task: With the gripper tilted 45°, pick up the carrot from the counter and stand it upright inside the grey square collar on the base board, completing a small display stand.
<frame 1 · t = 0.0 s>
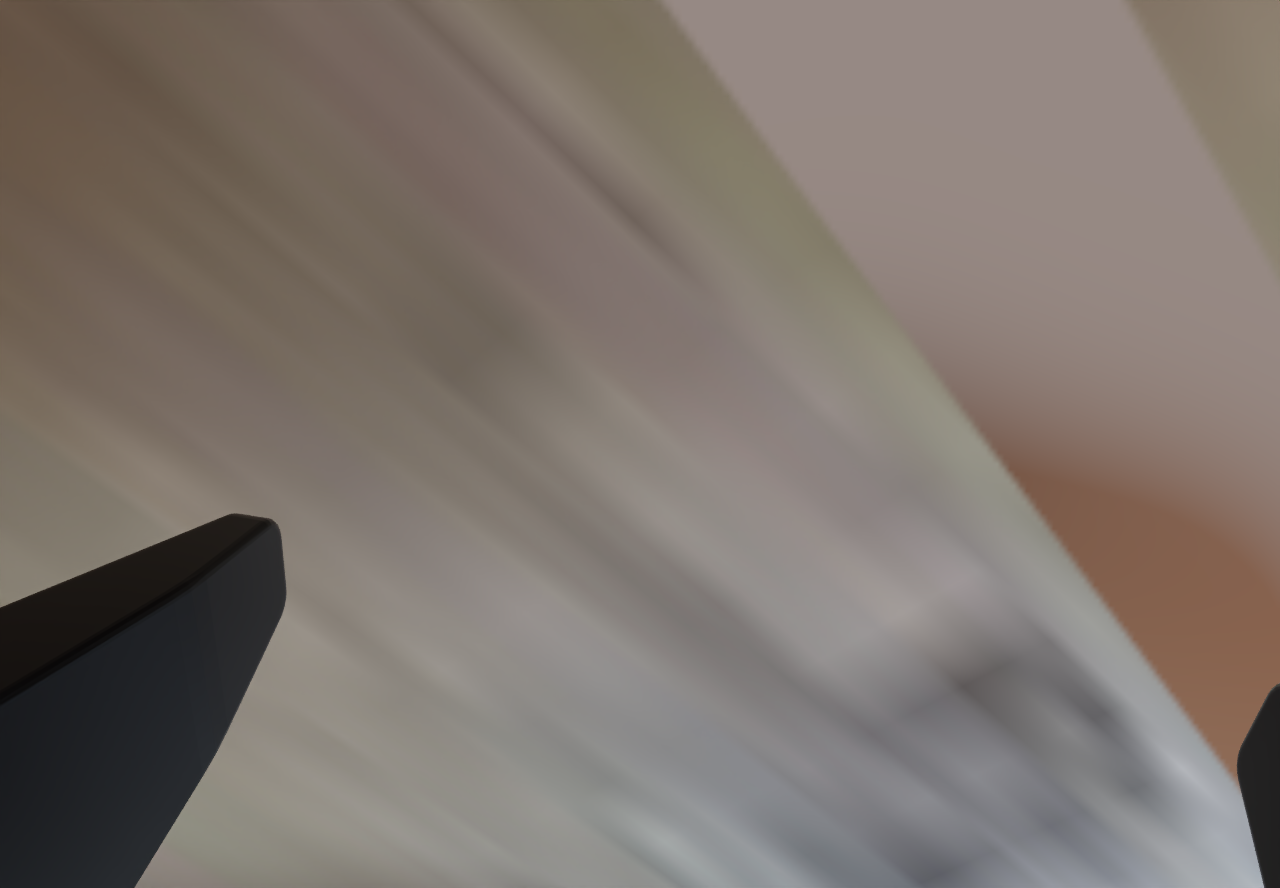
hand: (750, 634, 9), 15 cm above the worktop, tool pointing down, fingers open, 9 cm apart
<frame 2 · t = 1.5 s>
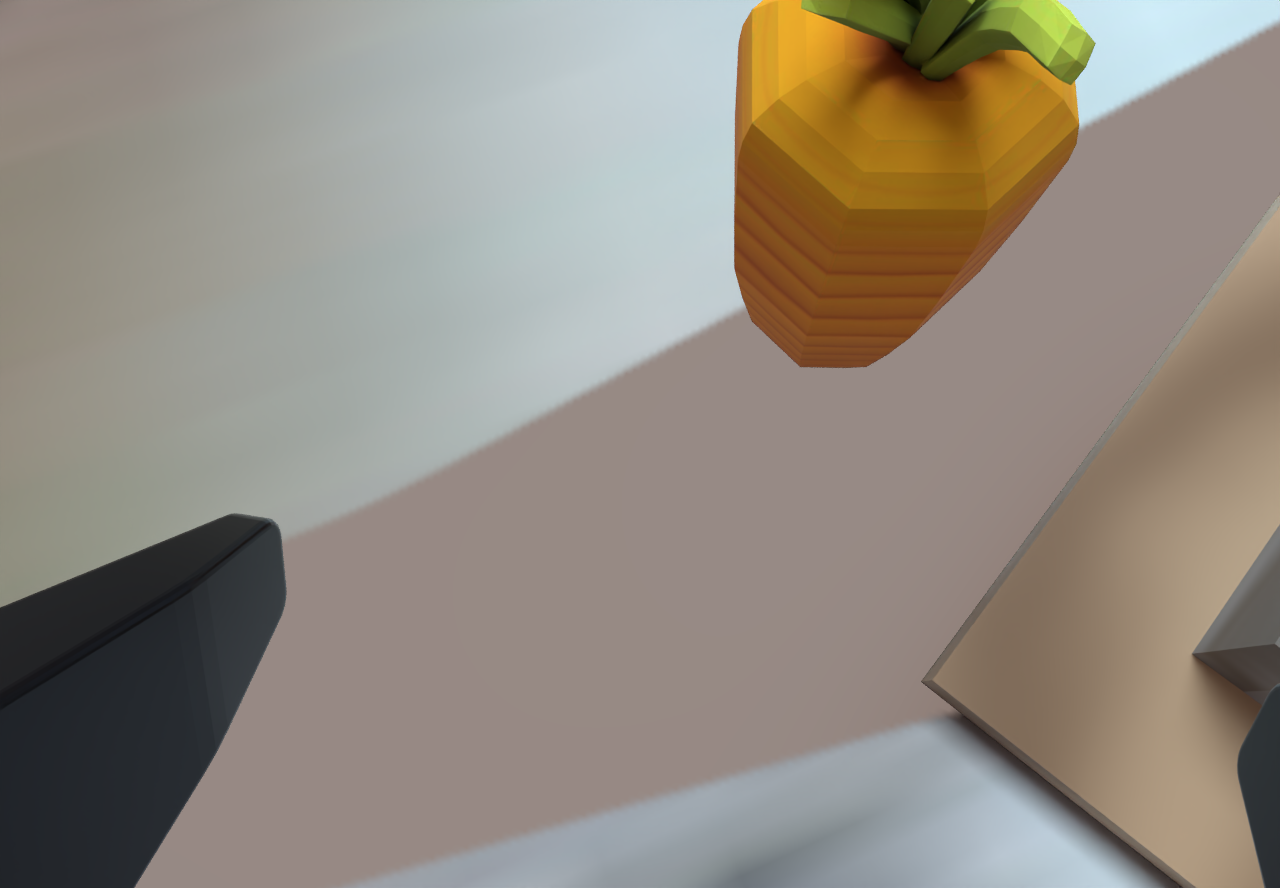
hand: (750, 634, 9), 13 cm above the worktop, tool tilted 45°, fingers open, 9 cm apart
carrot: (810, 348, 24), on the worktop
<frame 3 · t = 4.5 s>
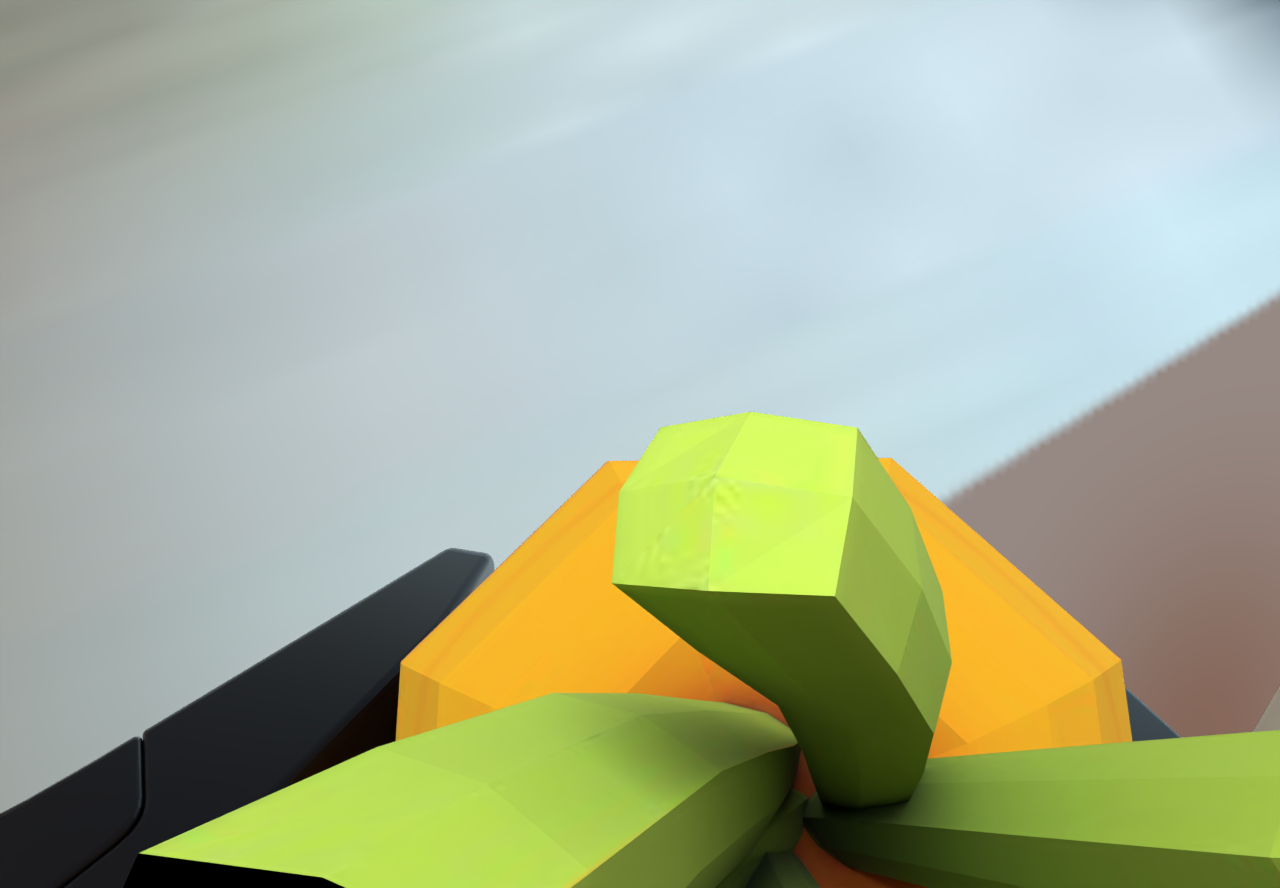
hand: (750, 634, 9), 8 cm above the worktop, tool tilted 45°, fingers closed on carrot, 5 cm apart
carrot: (705, 771, 16), on the worktop, touching gripper
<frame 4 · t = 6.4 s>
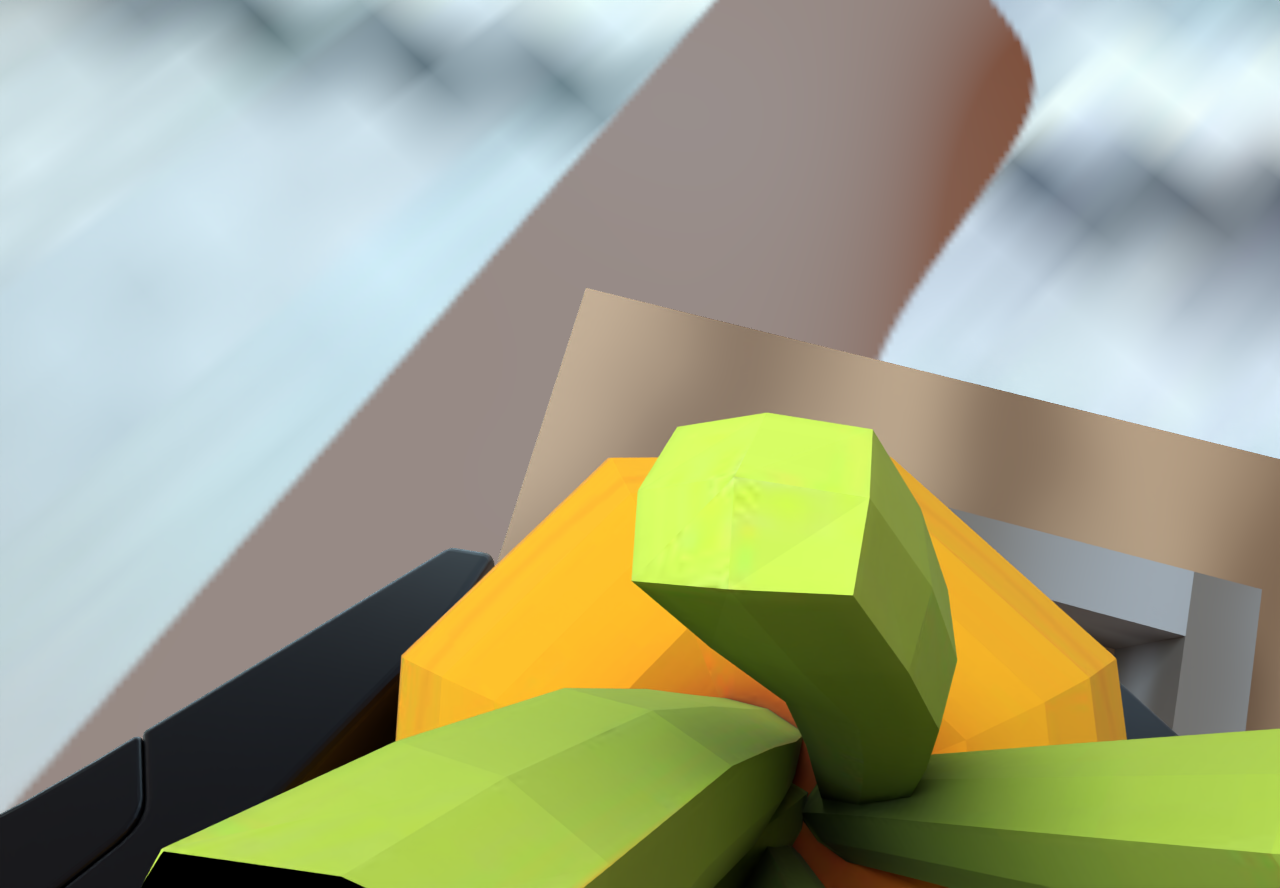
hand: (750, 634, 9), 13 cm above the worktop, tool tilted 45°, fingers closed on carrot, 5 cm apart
carrot: (696, 766, 16), point 5 cm above the worktop, touching gripper
socket base: (874, 786, 21), on the worktop
when the fingers open (10 cm above the worktop, at t = 8.2 s): carrot drops 1 cm, resting on socket base.
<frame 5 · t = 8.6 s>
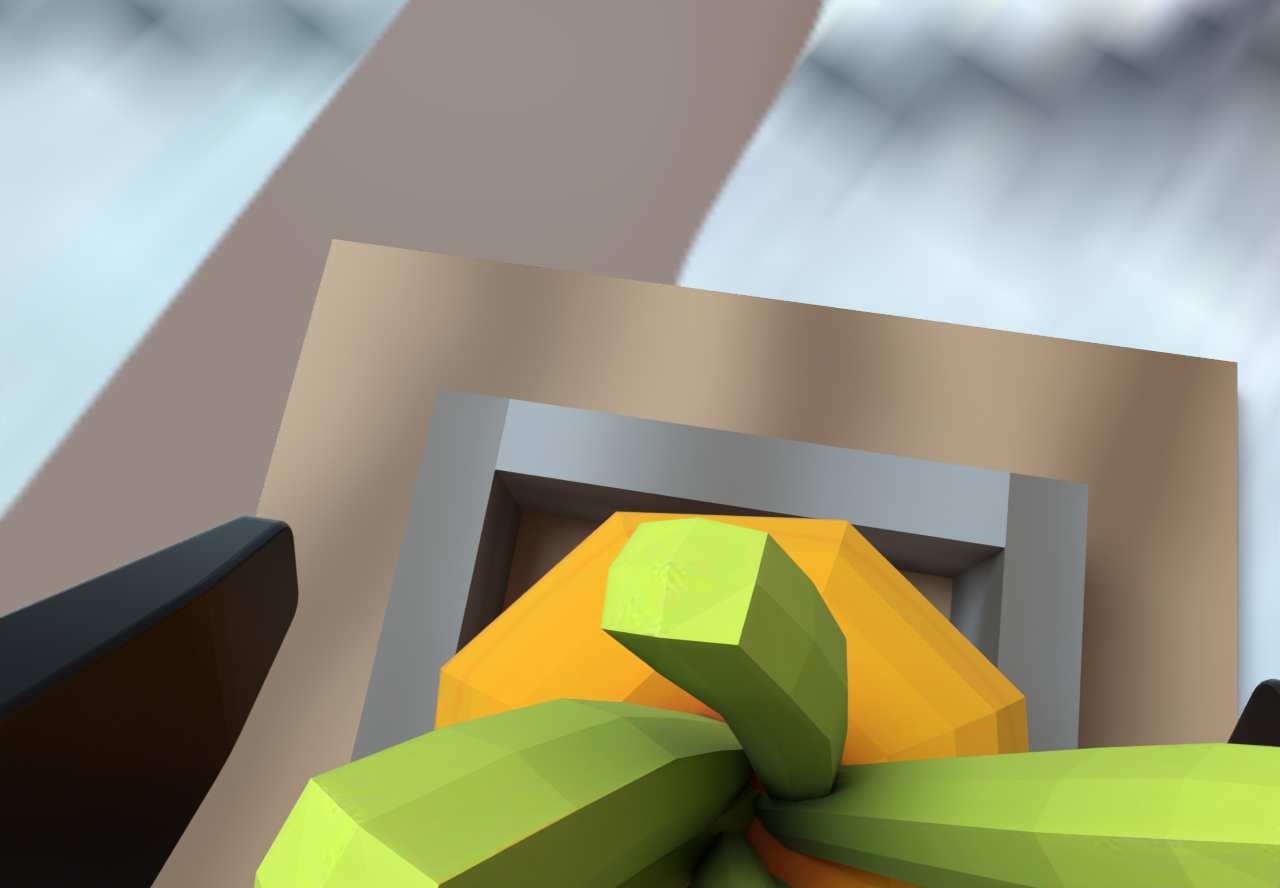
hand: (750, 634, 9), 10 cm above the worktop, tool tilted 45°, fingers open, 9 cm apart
carrot: (701, 782, 17), point 1 cm above the worktop, touching socket base
socket base: (701, 767, 18), on the worktop
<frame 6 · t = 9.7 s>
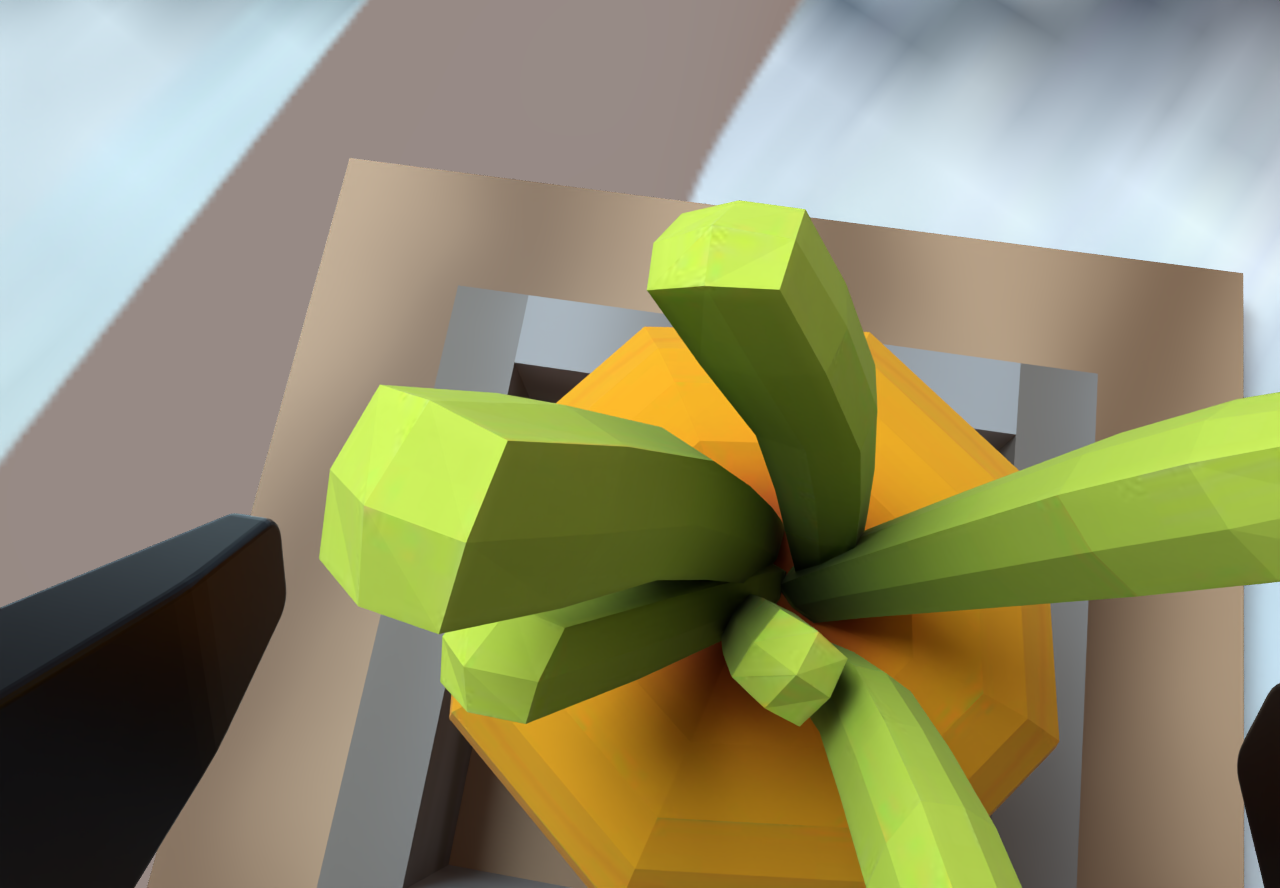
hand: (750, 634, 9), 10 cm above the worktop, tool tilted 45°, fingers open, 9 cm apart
carrot: (716, 678, 18), point 1 cm above the worktop, touching socket base
socket base: (714, 668, 19), on the worktop
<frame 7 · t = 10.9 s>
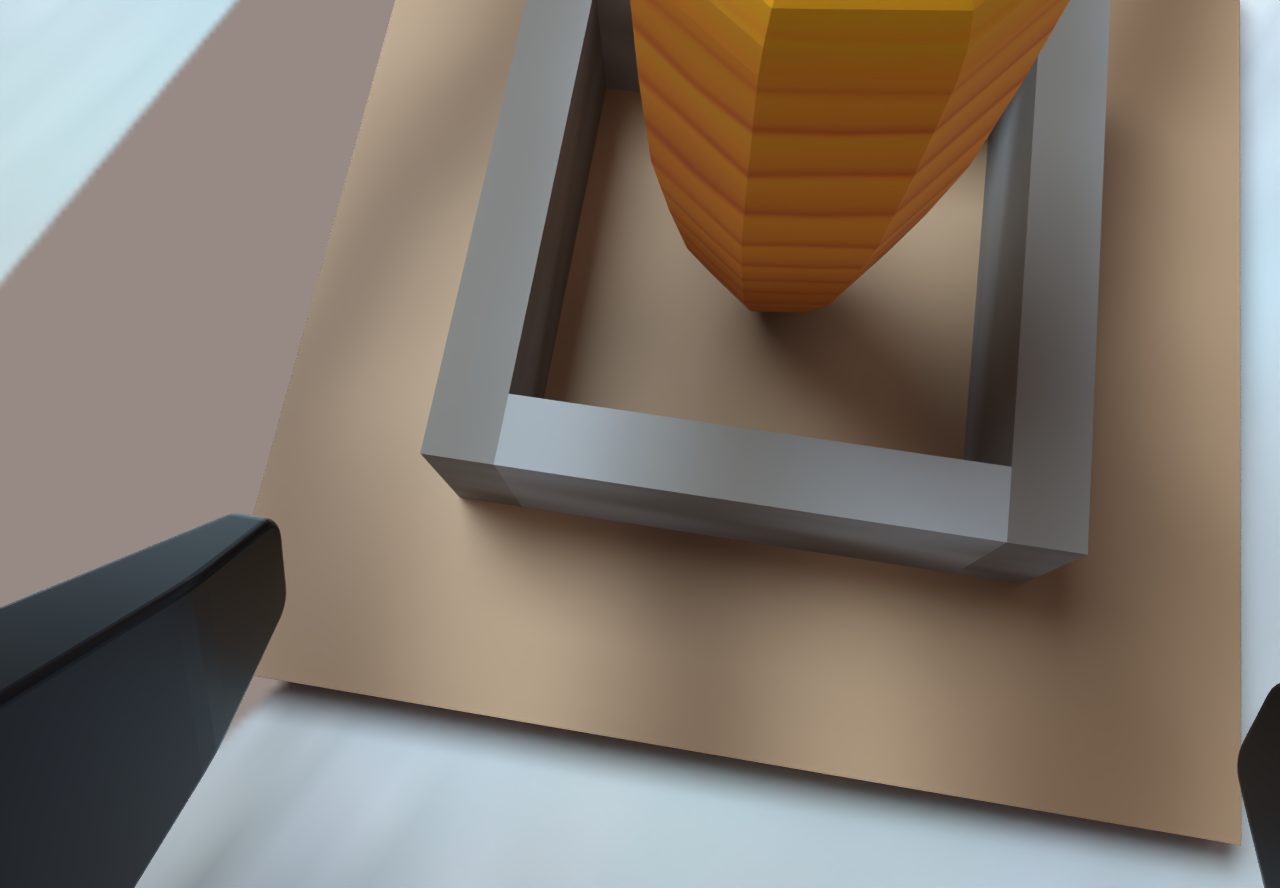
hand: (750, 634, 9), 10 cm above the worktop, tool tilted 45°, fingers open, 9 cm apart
carrot: (769, 298, 20), point 1 cm above the worktop, touching socket base
socket base: (765, 304, 21), on the worktop
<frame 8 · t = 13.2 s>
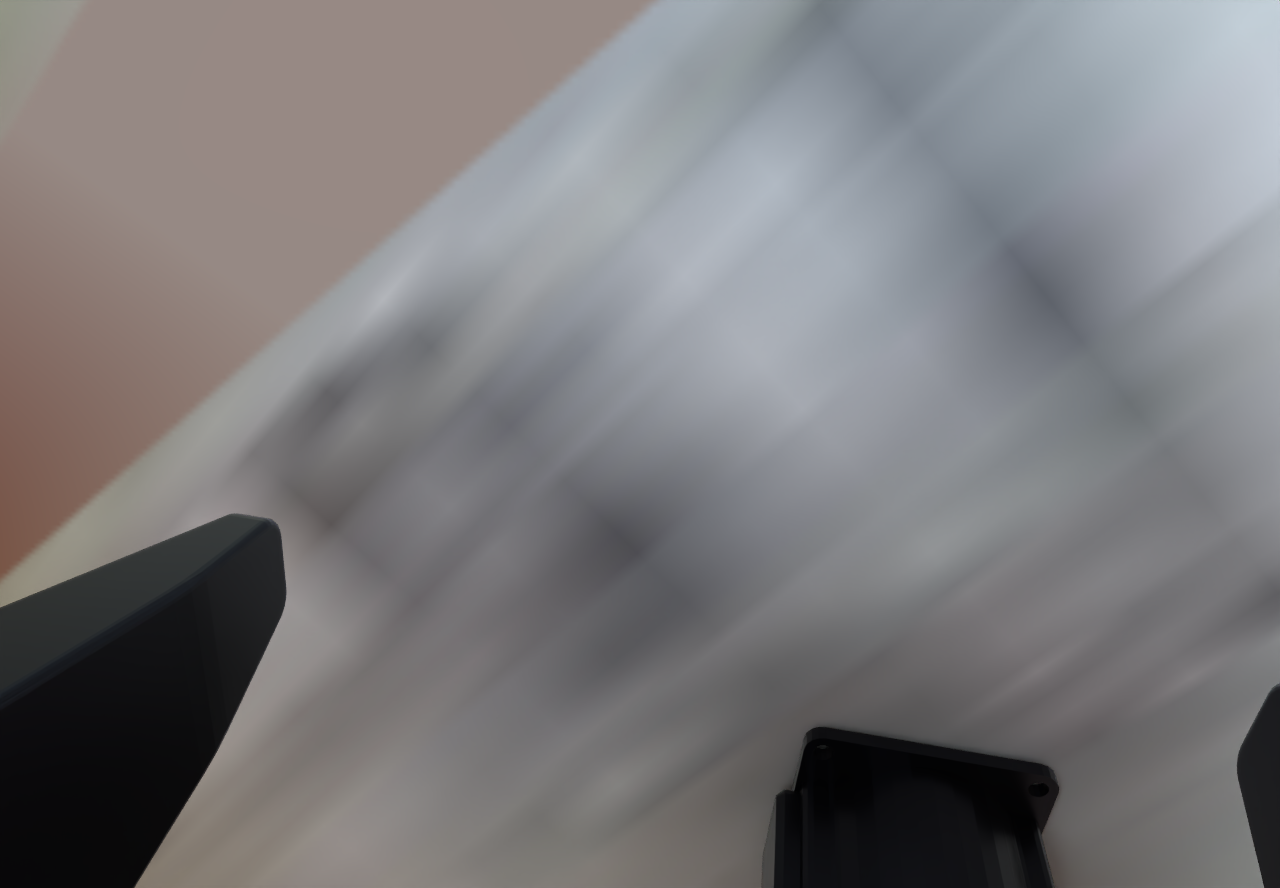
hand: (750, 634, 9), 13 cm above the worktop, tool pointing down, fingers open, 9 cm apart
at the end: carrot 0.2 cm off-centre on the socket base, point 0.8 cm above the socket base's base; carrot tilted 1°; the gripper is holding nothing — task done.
